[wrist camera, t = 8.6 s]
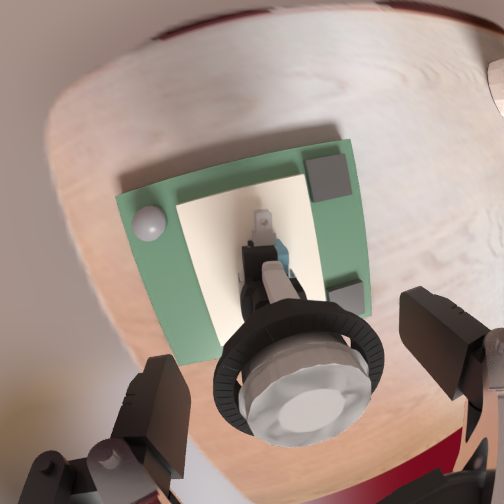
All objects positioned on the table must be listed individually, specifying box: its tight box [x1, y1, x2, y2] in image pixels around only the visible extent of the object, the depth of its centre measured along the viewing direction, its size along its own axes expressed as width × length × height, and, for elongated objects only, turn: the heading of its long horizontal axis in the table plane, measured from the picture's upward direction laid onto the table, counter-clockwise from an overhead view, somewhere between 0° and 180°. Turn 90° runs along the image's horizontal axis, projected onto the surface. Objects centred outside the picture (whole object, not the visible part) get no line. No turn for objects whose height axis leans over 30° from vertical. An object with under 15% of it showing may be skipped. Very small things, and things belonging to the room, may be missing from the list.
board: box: [115, 139, 372, 366], centre depth 17 cm, size 14×12×2 cm
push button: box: [213, 209, 384, 448], centre depth 11 cm, size 7×5×10 cm
